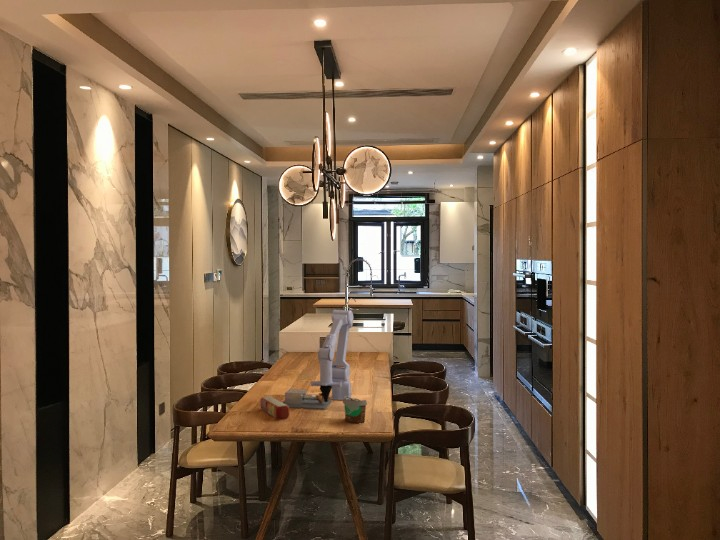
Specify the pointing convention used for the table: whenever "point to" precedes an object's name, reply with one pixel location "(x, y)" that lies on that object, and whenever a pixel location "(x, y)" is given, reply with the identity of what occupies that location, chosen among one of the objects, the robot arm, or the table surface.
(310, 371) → the table surface
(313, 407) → the slate base board
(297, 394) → the bearing housing
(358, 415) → the food container
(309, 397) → the steel shaft
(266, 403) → the snack package
